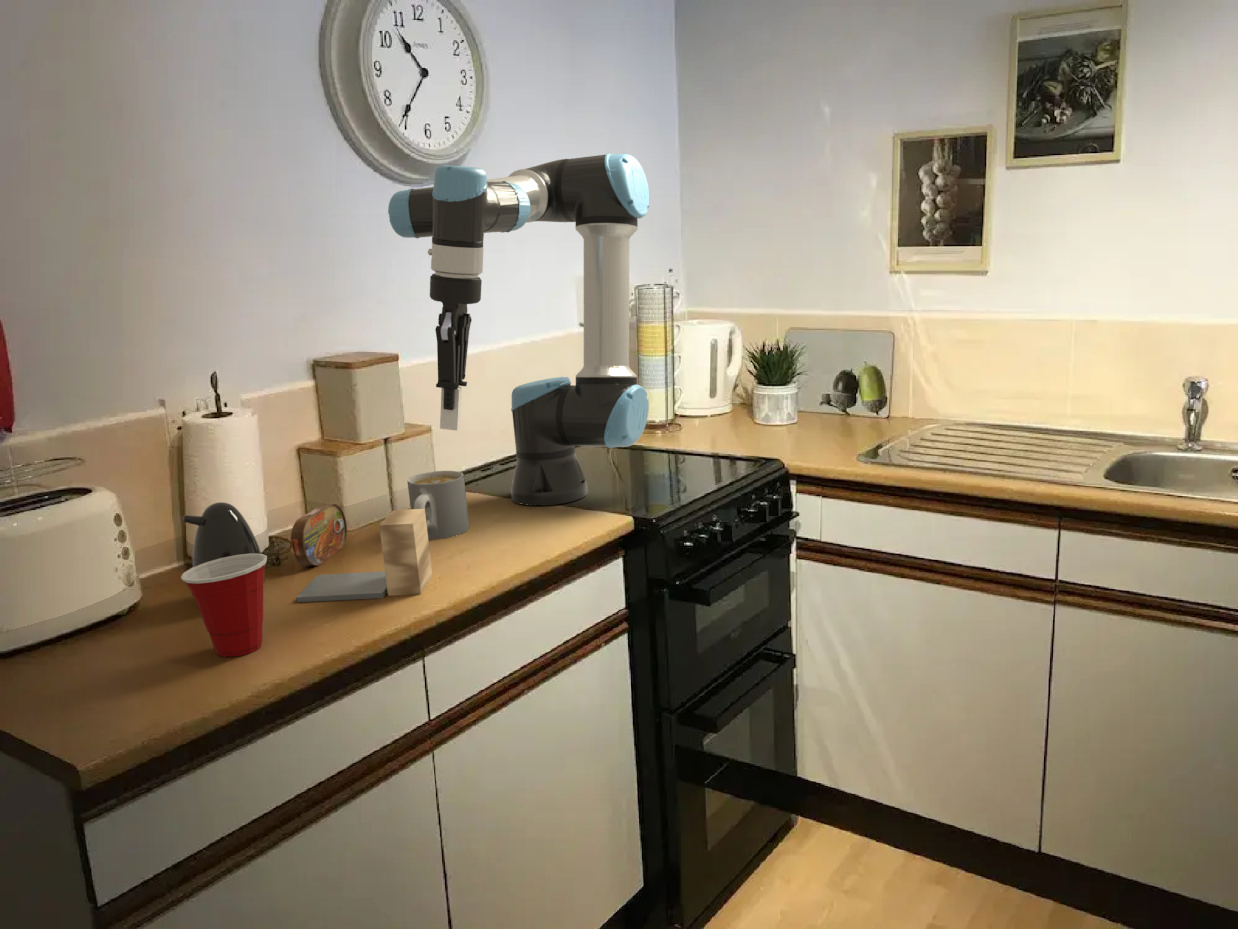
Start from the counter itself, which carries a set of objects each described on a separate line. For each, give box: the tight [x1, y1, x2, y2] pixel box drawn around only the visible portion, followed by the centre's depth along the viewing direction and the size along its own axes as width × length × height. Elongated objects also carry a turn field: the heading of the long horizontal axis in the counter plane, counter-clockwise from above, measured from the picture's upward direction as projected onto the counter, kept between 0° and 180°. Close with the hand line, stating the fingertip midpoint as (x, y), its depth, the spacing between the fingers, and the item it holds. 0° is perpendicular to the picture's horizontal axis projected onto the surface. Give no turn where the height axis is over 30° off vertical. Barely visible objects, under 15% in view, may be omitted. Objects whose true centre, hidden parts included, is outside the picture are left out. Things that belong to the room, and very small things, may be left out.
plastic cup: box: [180, 553, 268, 658], centre depth 136 cm, size 11×11×12 cm
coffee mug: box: [407, 470, 470, 540], centre depth 183 cm, size 13×10×10 cm
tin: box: [290, 503, 348, 567], centre depth 174 cm, size 15×3×8 cm, turn 168°
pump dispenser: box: [182, 501, 266, 569], centre depth 156 cm, size 10×10×15 cm
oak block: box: [378, 508, 433, 597], centre depth 157 cm, size 5×8×11 cm, turn 178°
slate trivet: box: [296, 570, 388, 603], centre depth 158 cm, size 13×10×1 cm
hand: (449, 428), depth 159 cm, fingers closed
